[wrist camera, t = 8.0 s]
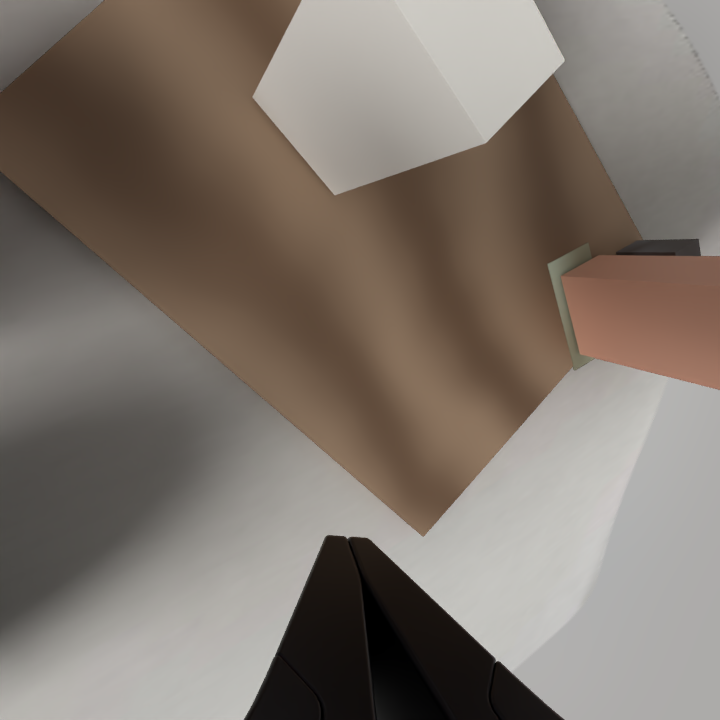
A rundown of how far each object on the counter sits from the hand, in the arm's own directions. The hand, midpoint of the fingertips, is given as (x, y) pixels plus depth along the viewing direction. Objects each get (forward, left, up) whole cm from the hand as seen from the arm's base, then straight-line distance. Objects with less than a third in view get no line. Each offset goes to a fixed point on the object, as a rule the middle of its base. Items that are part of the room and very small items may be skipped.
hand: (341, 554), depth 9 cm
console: (+10, 0, -12) cm, 15 cm away
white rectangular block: (+9, +5, -11) cm, 15 cm away
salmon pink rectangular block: (+14, -10, -11) cm, 21 cm away
